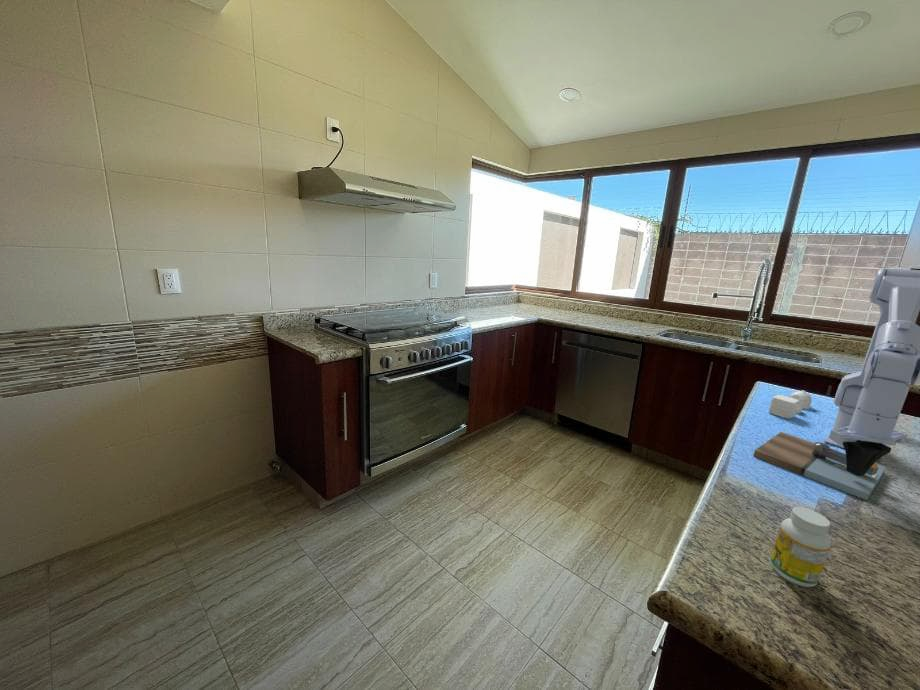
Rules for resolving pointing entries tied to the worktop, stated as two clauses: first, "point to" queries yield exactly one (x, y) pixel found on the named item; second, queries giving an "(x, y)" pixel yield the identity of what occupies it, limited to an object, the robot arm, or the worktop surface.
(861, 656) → the worktop surface
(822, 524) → the supplement bottle
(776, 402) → the container set
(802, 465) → the jamb board
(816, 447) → the lock bar
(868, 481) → the door leaf
